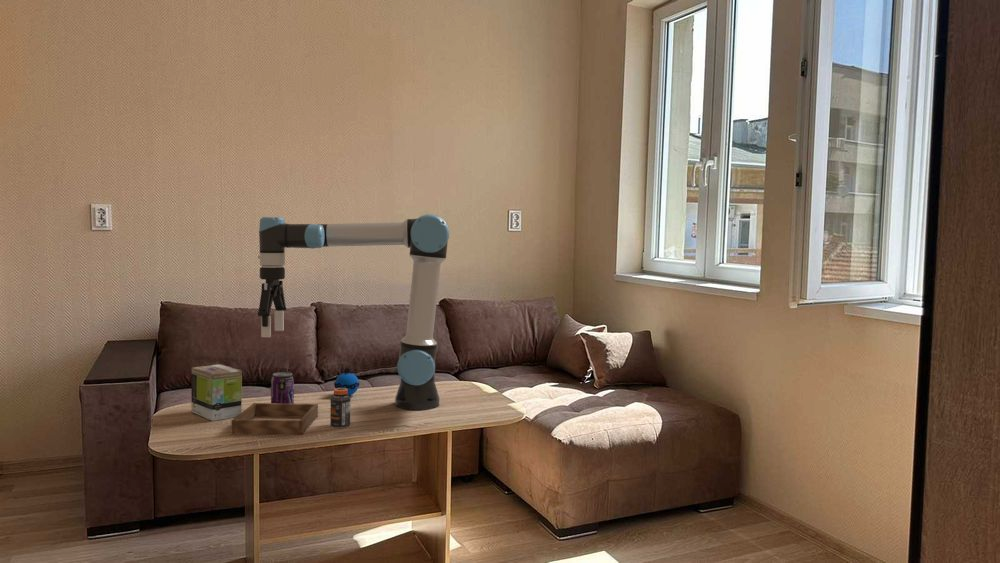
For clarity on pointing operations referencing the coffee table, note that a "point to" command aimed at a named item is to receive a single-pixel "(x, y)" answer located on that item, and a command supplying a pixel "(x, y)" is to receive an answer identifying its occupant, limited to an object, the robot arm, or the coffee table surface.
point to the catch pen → (275, 427)
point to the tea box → (216, 392)
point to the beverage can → (282, 388)
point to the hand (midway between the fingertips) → (272, 333)
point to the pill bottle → (340, 408)
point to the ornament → (347, 382)
